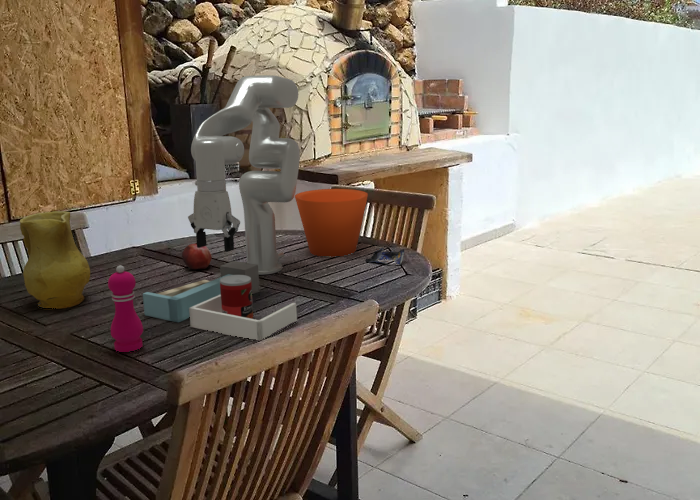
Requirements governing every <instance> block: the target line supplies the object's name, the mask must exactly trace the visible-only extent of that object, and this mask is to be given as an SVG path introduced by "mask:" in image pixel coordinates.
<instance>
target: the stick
mask: <svg viewBox="0 0 700 500" xmlns="http://www.w3.org/2000/svg"><path fill="white" fill-rule="evenodd" d="M210 281H211V280H208V279H202V280H199V281H196V282H192V283H188V284H185V285H182V286H178V287H175V288H172V289H168V290H164V291H161V292H157V293H156V294H161V295H166V296H171V297H173V296H176V295H178V294H181V293H183V292H185V291H188V290H190V289H193V288H195V287H198V286H200V285H203V284H205V283H208V282H210Z"/></svg>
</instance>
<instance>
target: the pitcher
mask: <svg viewBox="0 0 700 500" xmlns="http://www.w3.org/2000/svg"><path fill="white" fill-rule="evenodd" d="M19 229H20V233H21V236H23V243H24V246H25V249H27V251H26V252H27V255H28V259H27V262H26V264H25V265H24V266H23V267H24V268H23V272H22V273H23V274H22V275H23V281H24V286H25V288H26V291H27V293H28V294H29V295H30V296H32V297H33V298H35V299H36V300H38V302H37V304H40V303H41V304H40V305H38V306H40V307H43V308H52V309H51V310H57V309H61V310H62V309H67V308H72V307H74V306H78V305H79V304H80V305H81V303H82V302H84V300H85V298H86V296H85V295H84V294H83V292H84V288H85V287H86V285H88V283H89V282H90V279H91V267H90V265H89V262H88V259H86V257H85V256H84V255H83V254H82V252H81V251H80V250H79V248H78V247H77V245H76V242H75V240H74V236H73V231H72V228H71V212H70V211H65V210H64V211H60V210H58V211H47V212H38V213H34V214H29V215H27V216H25V217H23V218H21V219H20V220H19ZM38 306H37V307H38ZM53 308H54V309H53ZM55 308H56V309H55Z"/></svg>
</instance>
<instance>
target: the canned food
mask: <svg viewBox="0 0 700 500" xmlns="http://www.w3.org/2000/svg"><path fill="white" fill-rule="evenodd" d="M220 291H221V304H222V313H225V314H230V315H235V316H240V317H245V318H250V319H254V301H253V295H252V283H251V278H250V277H249V276H246V275H230V276H225V277H223V278H221V279H220Z"/></svg>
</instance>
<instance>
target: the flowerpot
mask: <svg viewBox="0 0 700 500" xmlns="http://www.w3.org/2000/svg"><path fill="white" fill-rule="evenodd" d="M368 197H369V193H368V192H366V191H363V190H358V189H351V188H322V189H321V188H320V189H312V190H307V191H306V190H305V191H301V192H298V193H297V194H296V193H295V195H294V198H295V202H296V206H297V209H298V214H299V218H300V221H301V224H302V228H303V232H304V235H305V239H306V243H307V246H308V250H309V253H310V254H311V255H313V256H316V255H317V257H321V256H331V257H330V258H336V257H335V256H340V257H345V256H344V255H347V256H349V255H348V254H350V255H352V254H351V253H353V254H354V252H355V251H357V249H358V248H357V247H358V242H359V237H360V233H361V228H362V224H363V219H364V214H365V210H366V206H367V205H366V204H367V200H368ZM355 253H356V252H355Z"/></svg>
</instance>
